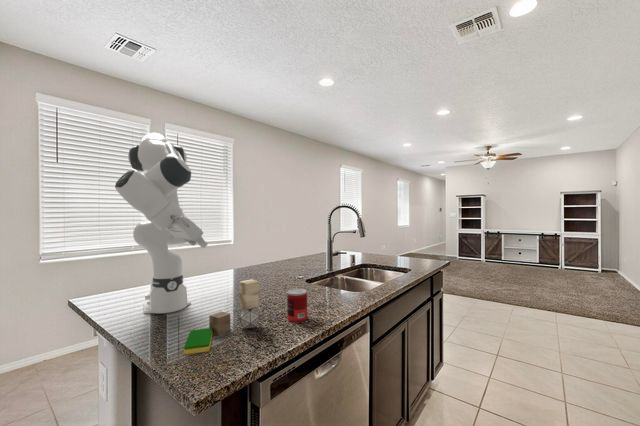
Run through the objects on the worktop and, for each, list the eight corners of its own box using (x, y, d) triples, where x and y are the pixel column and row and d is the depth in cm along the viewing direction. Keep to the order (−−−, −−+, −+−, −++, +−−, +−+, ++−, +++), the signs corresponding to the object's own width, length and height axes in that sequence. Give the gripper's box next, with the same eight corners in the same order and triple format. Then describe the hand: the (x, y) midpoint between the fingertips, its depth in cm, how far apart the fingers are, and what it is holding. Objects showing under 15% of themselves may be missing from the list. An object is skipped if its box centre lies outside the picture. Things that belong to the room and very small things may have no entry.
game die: (252, 340, 104) (254, 324, 98) (232, 330, 106) (232, 313, 100) (265, 320, 111) (267, 304, 105) (245, 311, 113) (246, 295, 107)
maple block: (239, 306, 106) (239, 281, 106) (252, 303, 109) (251, 279, 109) (246, 309, 102) (246, 284, 102) (259, 306, 105) (258, 281, 105)
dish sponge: (183, 355, 86) (183, 347, 86) (190, 336, 100) (190, 329, 100) (209, 352, 88) (209, 344, 88) (212, 334, 102) (212, 327, 102)
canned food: (310, 316, 117) (309, 289, 116) (302, 324, 109) (302, 294, 109) (292, 314, 119) (292, 287, 119) (284, 321, 111) (283, 293, 111)
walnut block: (209, 332, 102) (209, 315, 102) (221, 327, 107) (221, 311, 107) (218, 335, 100) (218, 318, 100) (230, 330, 104) (230, 313, 104)
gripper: (186, 208, 84) (219, 239, 90) (165, 209, 99) (195, 236, 105) (169, 224, 81) (205, 255, 87) (151, 222, 96) (182, 249, 102)
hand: (199, 244), depth 97 cm, fingers open, 8 cm apart
